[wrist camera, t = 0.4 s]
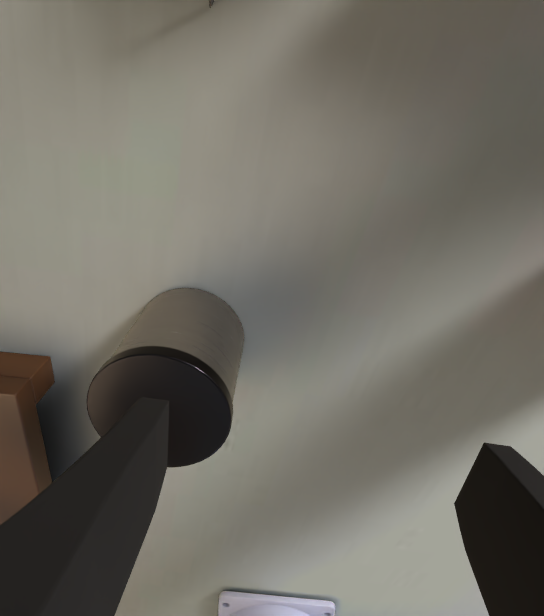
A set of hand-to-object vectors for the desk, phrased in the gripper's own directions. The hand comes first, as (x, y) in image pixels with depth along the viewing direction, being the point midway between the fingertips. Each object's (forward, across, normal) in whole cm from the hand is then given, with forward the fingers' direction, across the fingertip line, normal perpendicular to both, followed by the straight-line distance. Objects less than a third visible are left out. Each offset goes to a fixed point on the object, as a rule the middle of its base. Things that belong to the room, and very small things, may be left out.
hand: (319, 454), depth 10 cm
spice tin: (+10, +5, +4) cm, 12 cm away
